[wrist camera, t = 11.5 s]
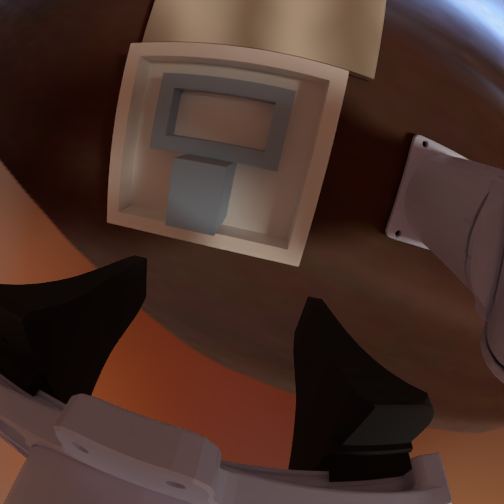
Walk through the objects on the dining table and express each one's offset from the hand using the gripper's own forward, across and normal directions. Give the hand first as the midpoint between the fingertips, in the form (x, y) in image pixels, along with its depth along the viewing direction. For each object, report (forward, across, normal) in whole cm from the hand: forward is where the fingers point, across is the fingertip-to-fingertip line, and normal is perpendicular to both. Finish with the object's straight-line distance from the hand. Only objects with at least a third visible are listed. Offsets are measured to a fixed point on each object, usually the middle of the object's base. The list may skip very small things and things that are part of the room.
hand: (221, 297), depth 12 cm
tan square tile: (+9, +2, -20) cm, 22 cm away
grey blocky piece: (+9, +3, -5) cm, 11 cm away
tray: (+9, +3, -6) cm, 11 cm away
